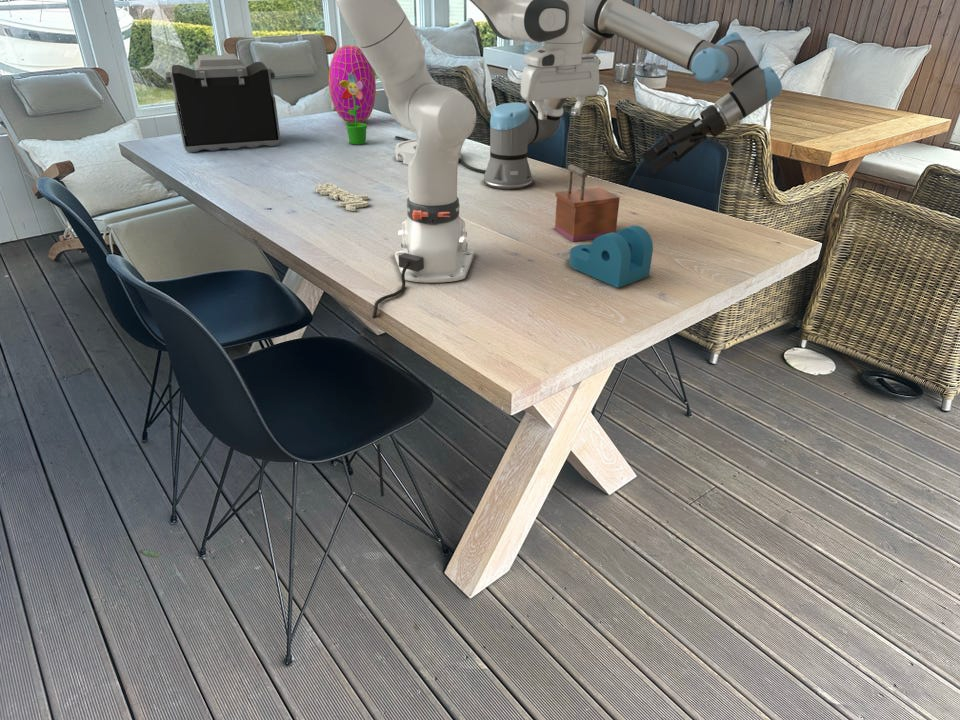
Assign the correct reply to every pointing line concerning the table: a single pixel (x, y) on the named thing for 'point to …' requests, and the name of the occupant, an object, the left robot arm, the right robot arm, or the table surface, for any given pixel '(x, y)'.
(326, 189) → the decorative sign
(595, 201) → the lid
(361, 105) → the decorative egg
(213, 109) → the electronic device
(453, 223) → the left robot arm
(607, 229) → the chest
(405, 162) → the ashtray
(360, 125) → the potted flower
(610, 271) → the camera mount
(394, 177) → the table surface
